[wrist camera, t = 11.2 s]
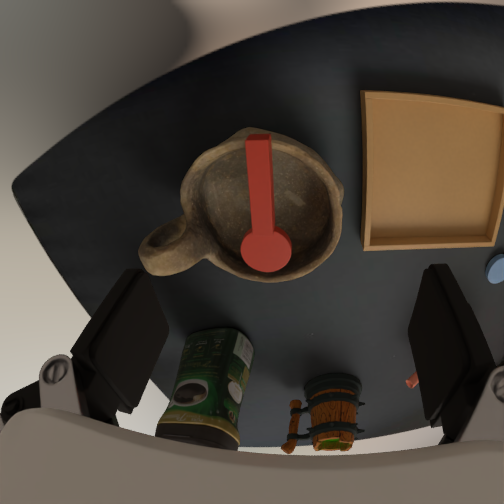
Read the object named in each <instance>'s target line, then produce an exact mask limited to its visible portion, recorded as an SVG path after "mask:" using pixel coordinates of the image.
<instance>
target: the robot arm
mask: <svg viewBox="0 0 504 504" xmlns="http://www.w3.org/2000/svg"><path fill="white" fill-rule="evenodd" d="M168 334H169V325H168V323H167V320H166V318H165V316H164V313H163V311H162V308H161V306H160V304H159V301H158V299H157V296H156V294H155V291H154V289H153V286H152V284H151V281H150V279H149V276H148V274H147V273H144V271H143V270H142V269H126V270H125V271H124V272H123V274H122V275H121V277H120V278H119V279H118V281H117V282H116V283H115V285H114V286H113V288H112V289H111V290H110V292H109V293H108V295H107V296H106V298H105V299H104V300H103V302H102V303H101V305H100V306H99V308H98V309H97V311H96V312H95V314H94V315H93V316H92V318H91V320H90V321H89V322H88V324H87V326H86V327H85V329H84V330H83V332H82V333H81V335H80V336H79V338H78V339H77V341H76V343H75V344H74V346H73V347H72V349H71V350H70V352H71V353H72V355H73V357H72V358H71V359H70V358H69V357H68V356H66V355H60V354H59V355H56V356H53V357H51V358H50V359H49V360H47V361H46V362H45V363H44V365H43V366H42V368H41V370H40V374H39V380H38V381H36V382H34V383H32V384H30V385H28V386H26V387H24V388H22V389H20V390H18V391H16V392H14V393H12V394H10V395H9V396H8V397H7V398H6V399H5V401H4V403H3V405H2V408H1V413H0V504H504V366H500V367H496V365H495V362H494V359H493V357H492V354H491V352H490V349H489V347H488V344H487V342H486V339H485V337H484V335H483V332H482V330H481V328H480V325H479V323H478V321H477V319H476V316H475V314H474V312H473V310H472V308H471V306H470V305H469V304H468V303H467V301H466V299H465V297H464V295H463V293H462V291H461V289H460V287H459V285H458V283H457V281H456V279H455V277H454V275H453V274H452V272H451V270H450V268H449V266H448V265H447V264H431V265H430V266H429V268H428V269H425V270H424V272H423V276H422V280H421V284H420V288H419V292H418V296H417V300H416V303H415V307H414V310H413V314H412V317H411V320H410V324H409V327H408V337H409V341H410V345H411V349H412V353H413V358H414V362H415V367H416V371H417V376H418V381H419V386H420V391H421V397H422V402H423V408H424V414H425V418H426V420H430V424H431V428H434V427H439V426H442V427H443V433H444V436H443V438H442V439H441V441H440V442H439V444H438V445H436V446H430V447H424V448H417V449H409V450H401V451H392V452H383V453H371V454H357V455H333V456H305V455H278V454H262V453H252V452H251V453H250V452H240V451H233V450H225V449H218V448H211V447H205V446H199V445H193V444H188V443H183V442H178V441H173V440H168V439H164V438H159V437H154V436H151V435H147V434H142V433H139V432H135V431H131V430H128V429H124V428H121V427H119V424H118V421H117V418H116V415H115V414H116V412H117V409H118V410H119V411H120V412H124V413H128V414H131V413H132V411H133V409H134V408H135V407H137V406H138V404H139V402H140V400H141V397H142V394H143V392H144V390H145V388H146V385H147V383H148V380H149V378H150V376H151V374H152V371H153V369H154V367H155V364H156V362H157V360H158V357H159V355H160V353H161V351H162V348H163V346H164V344H165V341H166V339H167V337H168Z"/></svg>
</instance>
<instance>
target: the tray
mask: <svg viewBox="0 0 504 504" xmlns="http://www.w3.org/2000/svg"><path fill="white" fill-rule="evenodd" d="M360 97H361V116H362V147H363V188H362V220H361V239H360V241H361V244H362V247H363V250H364V251H372V250H402V249H431V248H459V247H487V246H494V244H495V241H496V237H497V233H498V229H499V225H500V221H501V216H502V212H503V207H504V107H501V106H497V105H492V104H487V103H482V102H477V101H471V100H465V99H459V98H452V97H445V96H437V95H429V94H419V93H407V92H393V91H371V90H360Z"/></svg>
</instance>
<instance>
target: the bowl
mask: <svg viewBox="0 0 504 504" xmlns="http://www.w3.org/2000/svg"><path fill="white" fill-rule="evenodd" d="M250 134H271V144H272V163H273V184H274V206H275V226H277V227H279V228H281V229H282V230H284V231H285V232H286V233H287V235H288V236H289V238H290V240H291V244H292V250H291V257H290V260H289V261H288V263H287V264H286V265H285V266H284V267H283V268H281V269H279V270H277V271H273V272H262V271H258V270H256V269H253V268H252V267H250V266H249V265H248V264H247V263H246V262H245V261H244V259H243V257H242V255H241V243H242V240H243V237H244V235H245V233H246V232H247V231H248V230H249V229H251V228H252V223H251V211H250V198H249V186H248V174H247V162H246V149H245V140H246V139H247V137H248V136H249V135H250ZM180 195H181V205H182V208H183V212H184V214H183V215H182V216H180V217H178V218H176V219H174V220H172V221H169V222H167V223H165V224H163V225H161V226H160V227H158V228H156V229H155V230H154V231H153V232H151V233H150V234H149V235H148V236H146V237H145V238H144V240H143V241H142V243H141V245H140V247H139V250H138V252H139V257H140V259H141V261H142V263H143V265H144V267H145V269H146V270H147V271H148V272H149V273H151V274H152V275H157V276H167V275H172V274H175V273H178V272H181V271H184V270H186V269H188V268H190V267H192V266H193V265H194V264H196V263H197V262H199V261H200V260H201V259H203V258H206V259H208V260H209V261H211V262H212V263H213V264H214V265H216V266H218V267H220V268H222V269H223V270H226V271H228V272H230V273H232V274H235V275H237V276H239V277H242V278H244V279H248V280H253V281H261V282H281V281H289V280H292V279H296V278H299V277H301V276H304V275H306V274H308V273H310V272H311V271H313V270H314V269H315V268H317V267H318V266H319V265H320V264H321V263H322V262H324V261H325V260H326V259H327V258H328V257H329V256H330V255H331V254H332V252H333V251H334V249H335V247H336V245H337V243H338V241H339V238H340V234H341V231H342V208H341V203H342V200H343V196H344V188H343V185H342V183H341V181H340V180H339V179H338V178H337V177H336V176H335V175H334V173H333V172H332V170H331V169H330V167H329V166H328V165H327V164H326V162H325V161H324V160H323V159H322V158H321V157H320V156H319V155H318V154H317V153H316V152H315V151H314V150H313V149H311V148H309V147H307V146H306V145H304V144H302V143H300V142H298V141H296V140H294V139H292V138H290V137H287V136H285V135H282V134H278V133H275V132H271V131H267V130H263V129H259V128H253V127H248V128H244V129H241V130H240V131H238V132H236V133H235V134H234V135H232V136H231V137H230V138H229V139H227V140H225V141H224V142H222V143H221V144H219V145H218V146H217V147H214V148H211V149H209V150H207V151H205V152H204V153H202V154H201V155H200V156H199V157H198V158H197V159H196V160H195V161H194V163H193V164H192V166H191V167H190V169H189V170H188V172H187V173H186V175H185V177H184V179H183V181H182V184H181V190H180Z"/></svg>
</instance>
